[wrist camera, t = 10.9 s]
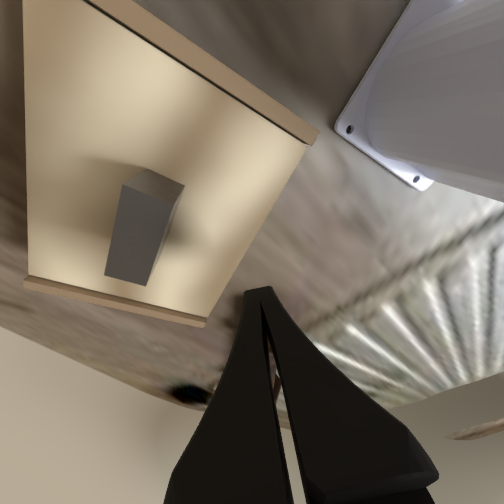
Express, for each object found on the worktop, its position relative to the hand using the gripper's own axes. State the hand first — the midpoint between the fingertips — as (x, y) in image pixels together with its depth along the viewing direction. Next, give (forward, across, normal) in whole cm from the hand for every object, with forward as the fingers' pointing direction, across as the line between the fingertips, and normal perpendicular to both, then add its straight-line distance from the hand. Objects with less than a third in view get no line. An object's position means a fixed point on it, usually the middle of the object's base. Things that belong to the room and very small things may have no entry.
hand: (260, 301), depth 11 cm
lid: (+5, +5, -4) cm, 8 cm away
